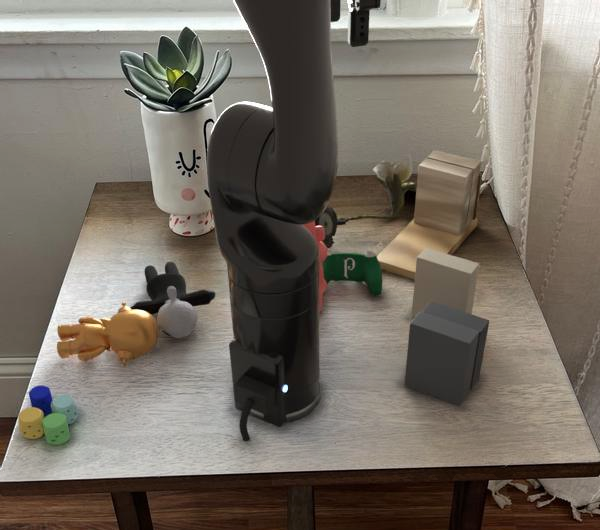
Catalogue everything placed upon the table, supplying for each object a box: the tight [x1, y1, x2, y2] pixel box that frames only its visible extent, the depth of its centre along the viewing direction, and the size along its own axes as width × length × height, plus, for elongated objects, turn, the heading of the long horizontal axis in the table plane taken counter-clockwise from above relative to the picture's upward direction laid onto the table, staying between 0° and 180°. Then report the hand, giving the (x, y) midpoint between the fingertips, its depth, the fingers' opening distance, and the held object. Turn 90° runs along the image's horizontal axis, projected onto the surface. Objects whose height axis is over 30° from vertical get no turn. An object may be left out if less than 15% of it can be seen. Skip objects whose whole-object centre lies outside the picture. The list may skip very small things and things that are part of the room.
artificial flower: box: [315, 154, 417, 249], centre depth 120 cm, size 9×22×10 cm, turn 127°
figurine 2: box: [129, 261, 216, 339], centre depth 104 cm, size 11×6×15 cm
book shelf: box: [376, 149, 483, 281], centre depth 113 cm, size 17×8×10 cm, turn 148°
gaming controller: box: [322, 249, 383, 297], centre depth 109 cm, size 9×4×6 cm
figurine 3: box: [302, 221, 328, 313], centre depth 101 cm, size 5×5×15 cm
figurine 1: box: [56, 301, 160, 368], centre depth 98 cm, size 8×6×12 cm
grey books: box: [404, 301, 490, 407], centre depth 92 cm, size 6×7×9 cm
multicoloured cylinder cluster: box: [17, 384, 80, 446], centre depth 90 cm, size 8×3×6 cm
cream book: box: [410, 248, 480, 319], centre depth 101 cm, size 2×7×9 cm, turn 58°
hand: (343, 33), depth 95 cm, fingers open, 8 cm apart
